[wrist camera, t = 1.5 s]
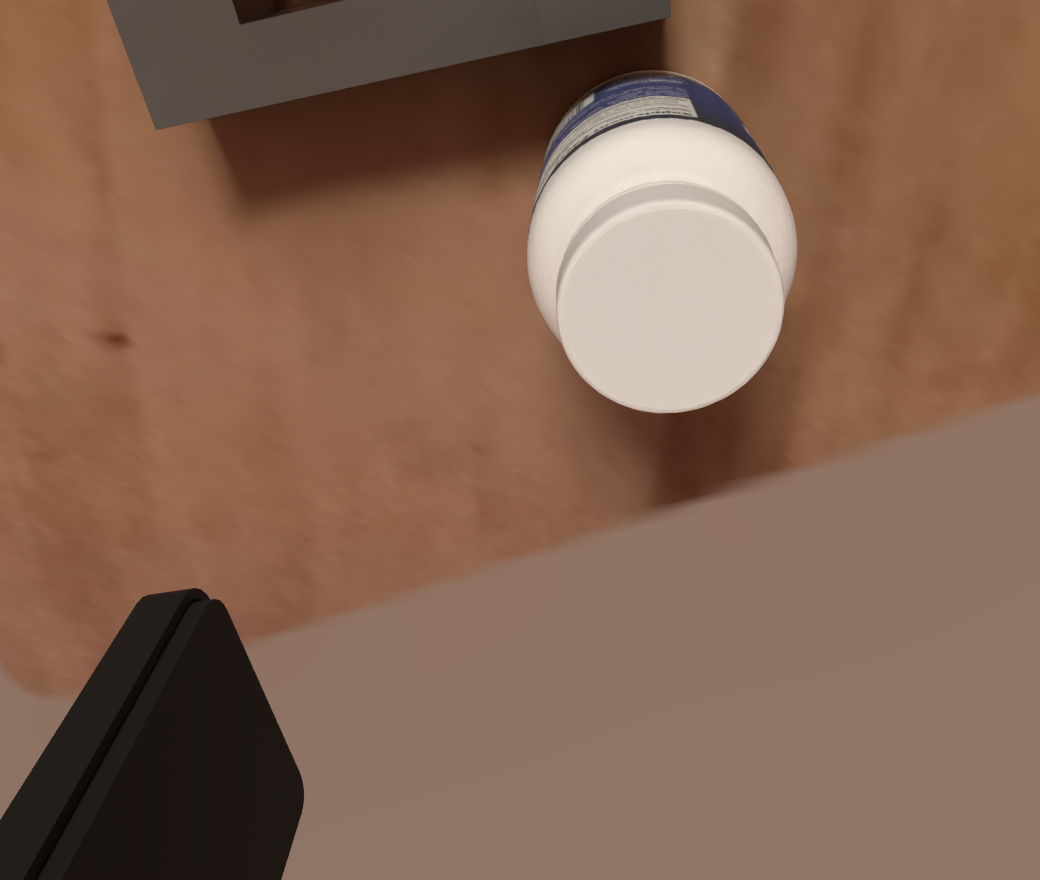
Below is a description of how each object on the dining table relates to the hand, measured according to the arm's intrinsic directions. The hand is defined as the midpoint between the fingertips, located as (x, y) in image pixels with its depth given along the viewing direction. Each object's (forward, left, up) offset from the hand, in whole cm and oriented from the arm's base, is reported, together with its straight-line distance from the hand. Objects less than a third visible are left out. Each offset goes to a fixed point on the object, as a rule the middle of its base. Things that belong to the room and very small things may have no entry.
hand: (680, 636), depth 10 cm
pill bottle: (0, 0, -18) cm, 18 cm away
